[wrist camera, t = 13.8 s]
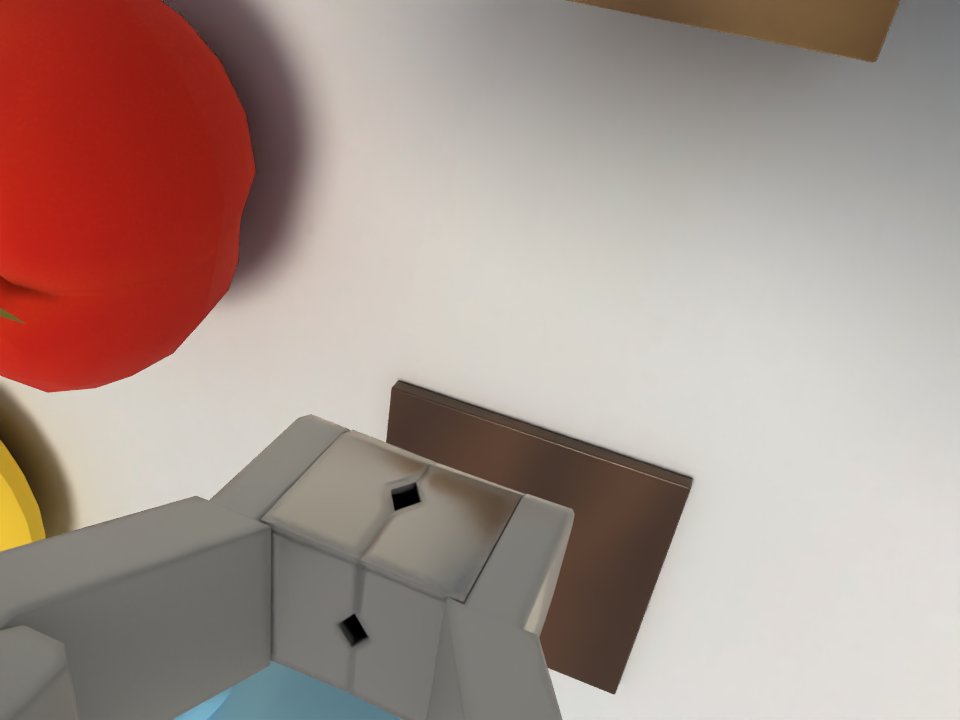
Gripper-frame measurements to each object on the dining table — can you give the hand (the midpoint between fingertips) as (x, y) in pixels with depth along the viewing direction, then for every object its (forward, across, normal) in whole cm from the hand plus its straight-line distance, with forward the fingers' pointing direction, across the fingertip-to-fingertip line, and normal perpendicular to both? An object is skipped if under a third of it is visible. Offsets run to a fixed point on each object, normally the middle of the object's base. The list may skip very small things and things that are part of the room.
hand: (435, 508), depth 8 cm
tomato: (+19, +20, +5) cm, 27 cm away
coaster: (+19, +2, +18) cm, 26 cm away
